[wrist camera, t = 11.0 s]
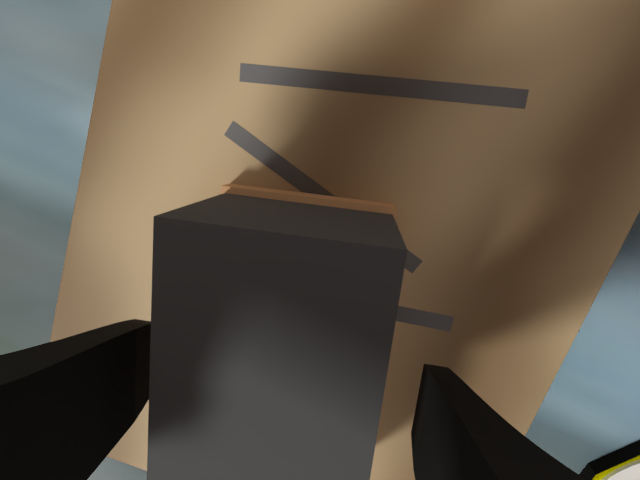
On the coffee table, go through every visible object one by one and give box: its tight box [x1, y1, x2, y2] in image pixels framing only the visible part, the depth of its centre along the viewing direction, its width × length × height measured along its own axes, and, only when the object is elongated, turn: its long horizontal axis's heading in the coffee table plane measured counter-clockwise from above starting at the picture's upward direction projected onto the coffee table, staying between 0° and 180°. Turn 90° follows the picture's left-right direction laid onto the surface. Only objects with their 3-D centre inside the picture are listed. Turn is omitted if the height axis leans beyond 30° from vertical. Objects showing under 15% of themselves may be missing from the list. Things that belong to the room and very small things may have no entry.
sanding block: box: [147, 183, 407, 480], centre depth 11 cm, size 5×9×5 cm, turn 173°
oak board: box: [50, 0, 640, 480], centre depth 13 cm, size 16×24×1 cm, turn 162°
